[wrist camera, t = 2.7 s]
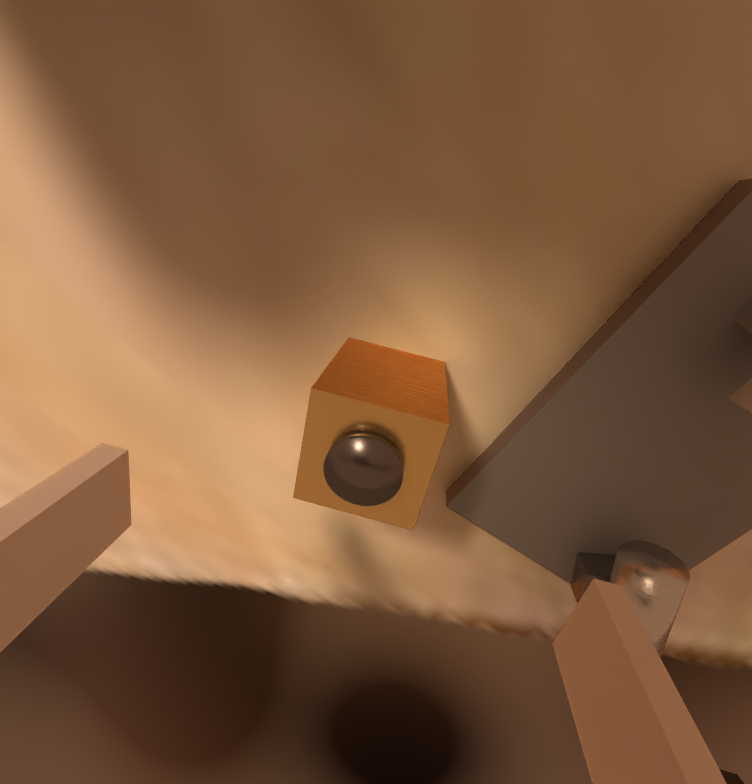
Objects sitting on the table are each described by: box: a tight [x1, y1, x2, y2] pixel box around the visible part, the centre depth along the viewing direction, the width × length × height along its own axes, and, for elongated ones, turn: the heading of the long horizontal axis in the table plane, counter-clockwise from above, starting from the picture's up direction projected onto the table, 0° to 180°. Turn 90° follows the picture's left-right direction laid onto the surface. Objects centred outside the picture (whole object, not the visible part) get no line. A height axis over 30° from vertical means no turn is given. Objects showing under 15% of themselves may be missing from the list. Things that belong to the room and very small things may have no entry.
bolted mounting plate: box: [446, 179, 752, 584], centre depth 16 cm, size 18×12×5 cm, turn 147°
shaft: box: [571, 540, 690, 657], centre depth 19 cm, size 5×4×4 cm
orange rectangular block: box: [293, 338, 450, 530], centre depth 17 cm, size 5×5×7 cm
